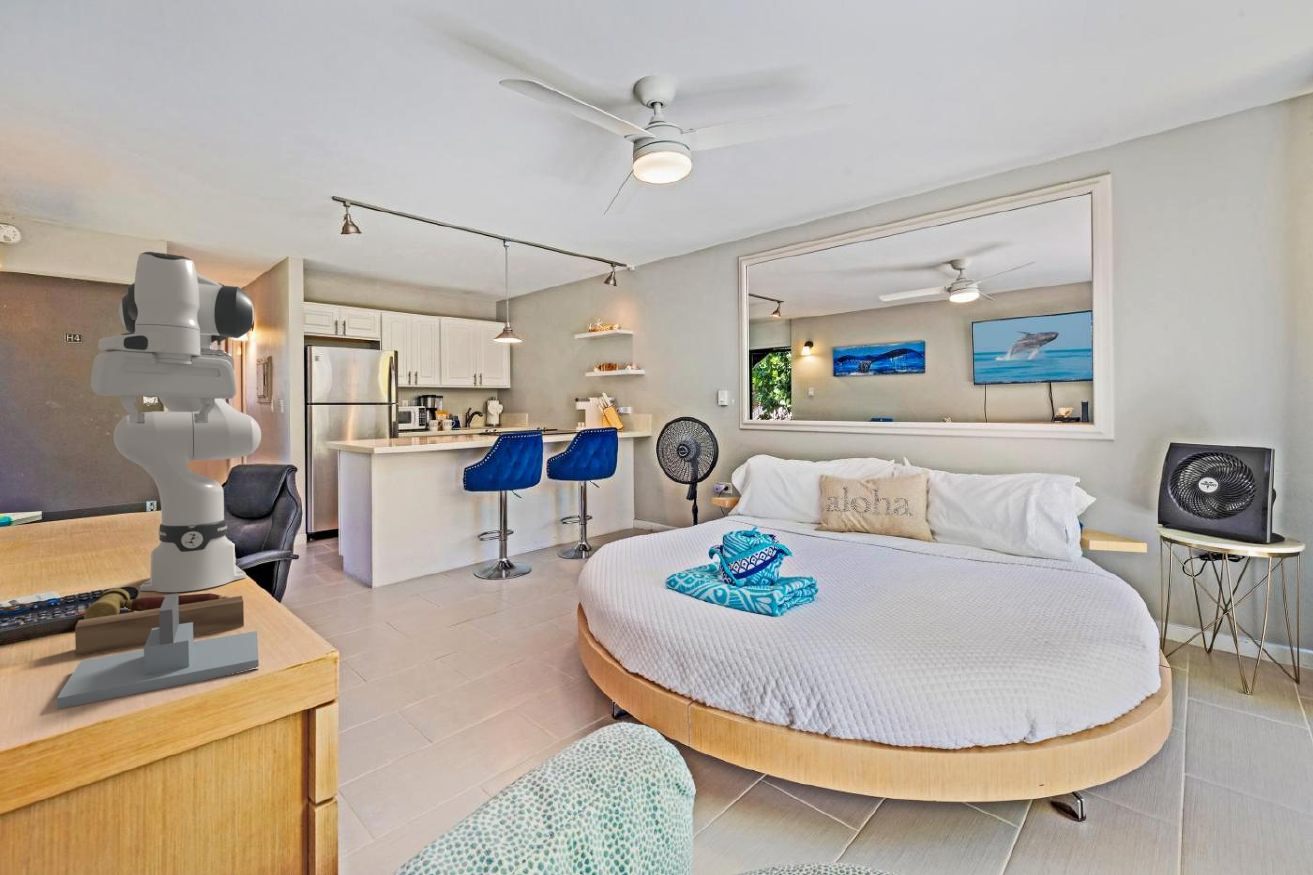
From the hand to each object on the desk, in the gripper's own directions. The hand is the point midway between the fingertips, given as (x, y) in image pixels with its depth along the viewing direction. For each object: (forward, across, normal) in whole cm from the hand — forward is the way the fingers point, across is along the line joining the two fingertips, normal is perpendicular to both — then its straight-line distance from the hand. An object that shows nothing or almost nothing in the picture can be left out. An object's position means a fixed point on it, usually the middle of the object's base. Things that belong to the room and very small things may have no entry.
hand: (170, 423), depth 104 cm
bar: (+38, +2, +2) cm, 38 cm away
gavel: (+38, -4, -14) cm, 41 cm away
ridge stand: (+37, +8, +18) cm, 42 cm away
